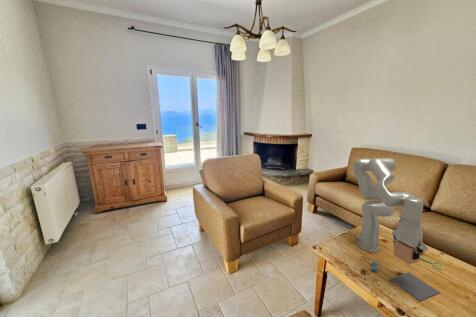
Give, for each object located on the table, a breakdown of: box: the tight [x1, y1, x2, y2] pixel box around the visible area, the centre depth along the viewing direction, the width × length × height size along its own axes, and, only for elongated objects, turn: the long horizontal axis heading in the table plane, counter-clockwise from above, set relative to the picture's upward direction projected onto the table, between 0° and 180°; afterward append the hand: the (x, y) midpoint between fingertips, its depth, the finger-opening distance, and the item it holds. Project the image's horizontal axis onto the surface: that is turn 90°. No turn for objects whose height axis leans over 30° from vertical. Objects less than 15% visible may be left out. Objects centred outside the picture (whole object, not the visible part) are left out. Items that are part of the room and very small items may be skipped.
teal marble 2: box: [371, 265, 379, 273], centre depth 114 cm, size 3×3×3 cm
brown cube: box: [393, 240, 422, 265], centre depth 103 cm, size 7×7×8 cm
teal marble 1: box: [370, 260, 378, 268], centre depth 118 cm, size 3×3×3 cm
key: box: [420, 256, 445, 271], centre depth 119 cm, size 7×12×2 cm, turn 56°
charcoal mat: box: [389, 271, 441, 303], centre depth 104 cm, size 14×14×1 cm
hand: (406, 254), depth 103 cm, fingers closed on brown cube, 7 cm apart
